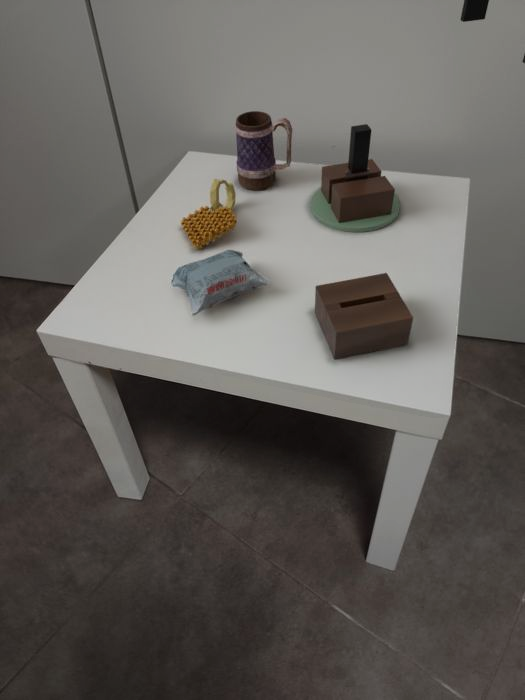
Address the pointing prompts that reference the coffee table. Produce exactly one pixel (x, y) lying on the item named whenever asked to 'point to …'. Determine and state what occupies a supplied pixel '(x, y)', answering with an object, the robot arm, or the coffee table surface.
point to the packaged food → (217, 279)
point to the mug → (258, 149)
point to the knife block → (362, 315)
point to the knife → (358, 153)
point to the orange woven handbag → (211, 217)
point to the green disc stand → (354, 200)
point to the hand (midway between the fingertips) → (501, 39)
